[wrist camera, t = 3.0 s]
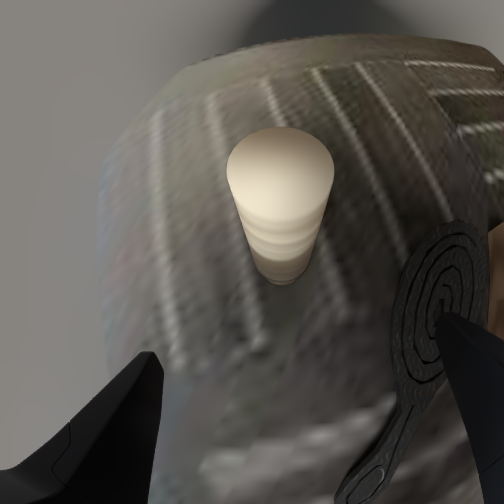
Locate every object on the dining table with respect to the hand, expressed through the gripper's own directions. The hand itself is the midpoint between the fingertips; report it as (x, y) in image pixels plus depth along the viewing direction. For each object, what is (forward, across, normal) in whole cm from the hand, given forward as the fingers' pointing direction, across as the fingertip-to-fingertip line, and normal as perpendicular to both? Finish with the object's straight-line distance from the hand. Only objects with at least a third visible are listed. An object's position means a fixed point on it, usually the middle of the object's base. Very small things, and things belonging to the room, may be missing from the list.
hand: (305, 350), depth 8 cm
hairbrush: (+6, -9, +12) cm, 16 cm away
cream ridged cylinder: (+13, 0, +4) cm, 13 cm away
